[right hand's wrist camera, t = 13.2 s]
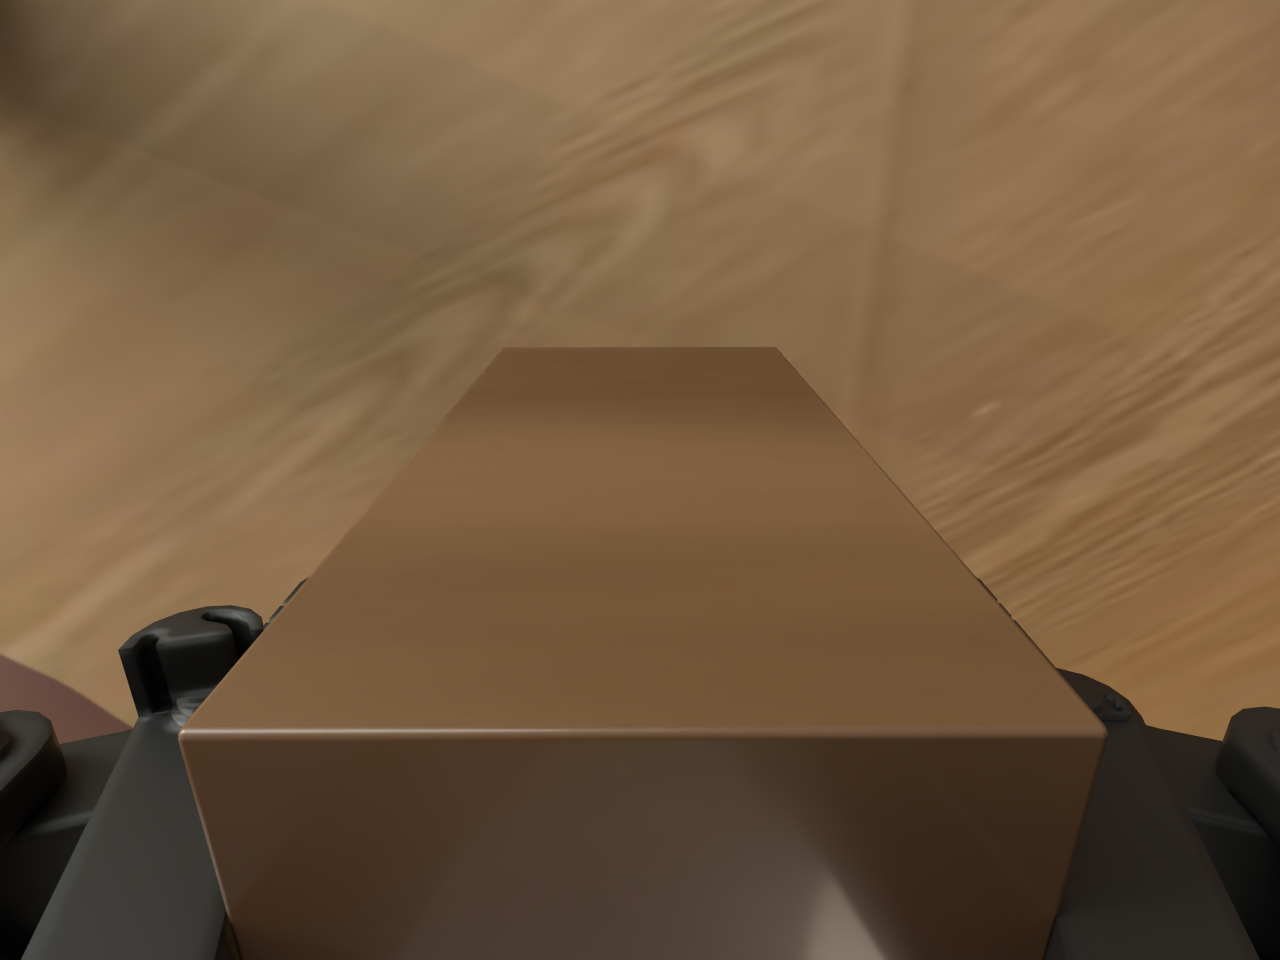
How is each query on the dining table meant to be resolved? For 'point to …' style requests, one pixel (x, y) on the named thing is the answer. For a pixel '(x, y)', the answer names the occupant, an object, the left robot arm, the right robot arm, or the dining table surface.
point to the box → (642, 698)
